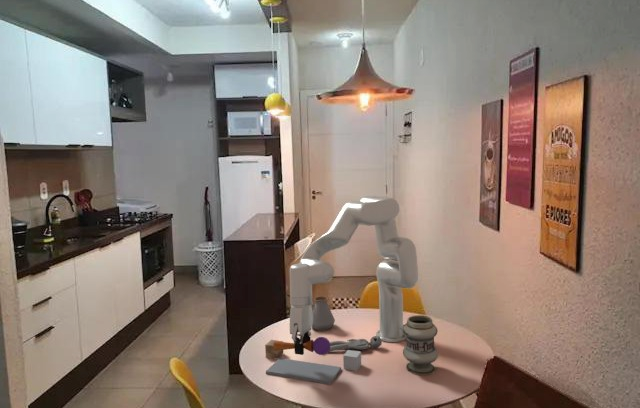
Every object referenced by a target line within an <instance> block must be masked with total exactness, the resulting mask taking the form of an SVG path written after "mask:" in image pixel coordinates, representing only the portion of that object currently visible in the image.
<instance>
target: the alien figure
mask: <svg viewBox="0 0 640 408" xmlns="http://www.w3.org/2000/svg"><path fill="white" fill-rule="evenodd" d="M329 342H330V350H329V351H328V353H329V352H333V351H339V350H340V351H341V350H367V349H368V348H369V349H378V348H380V347H381V346H382V342H383V341H382V340H381V338H380V337H379V336H376V335H374V336H372V337H371V338H370V341H368V340H367V339H365V338H358V339H356V338H351V339H347V340H346V341H345V340H334V341H329Z"/></svg>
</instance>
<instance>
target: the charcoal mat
mask: <svg viewBox="0 0 640 408" xmlns="http://www.w3.org/2000/svg"><path fill="white" fill-rule="evenodd" d="M341 371H342V367H341V366H337V365H330V364H323V363H317V362H316V363H315V362H311V361H310V362H309V361H301V360H297V359H296V360H295V359H289V358H283V357H282V358H281V357H279V358H278V359H276V361H275V362H274V363H273V364H272V365H271V366H270V367H268V368H267V370H265V375H270V376H271V375H272V376H276V377H277V376H278V377H284V378H287V379H288V378H289V379H296V380H301V381H308V382H313V383H319V384H324V385H325V384H326V385H332V384H333V382H334V380H335V379H336V377H338V375H339V374H340V372H341Z"/></svg>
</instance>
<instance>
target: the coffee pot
mask: <svg viewBox="0 0 640 408" xmlns="http://www.w3.org/2000/svg"><path fill="white" fill-rule="evenodd" d="M285 296H286V297H285V299H287V297H289V298H290V294H286V295H285ZM313 300H314V302H315V303H312V305H311V306H312V307H313V308H312V317H313V324H312V327H311V328H313V330H315V331H316V330H317V331H325V330H329V329H331V328H332V326H334V324H335V322H336V319H335V317H334V315H333V313H332V311H331V309H330V306H329V304H328V301H329V297H327V296H322V295H320V296H316V297H314V299H313Z"/></svg>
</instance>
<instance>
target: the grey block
mask: <svg viewBox="0 0 640 408" xmlns="http://www.w3.org/2000/svg"><path fill="white" fill-rule="evenodd" d="M342 360H343V361H342V362H343V370H350V371H357V372H358V371H359V369H360V367H361V366H362V352H361V351H359V350H353V349H346V352H345V353H344V354H343V359H342Z"/></svg>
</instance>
